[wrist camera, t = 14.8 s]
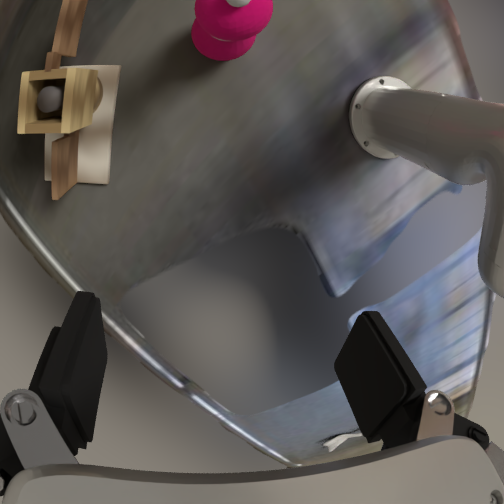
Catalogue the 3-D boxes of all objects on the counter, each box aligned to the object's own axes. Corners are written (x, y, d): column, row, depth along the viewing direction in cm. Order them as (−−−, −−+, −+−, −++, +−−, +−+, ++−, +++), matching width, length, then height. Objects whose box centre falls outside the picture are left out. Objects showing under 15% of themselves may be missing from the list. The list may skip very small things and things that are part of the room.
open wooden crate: (65, -1, 22) (40, -13, 16) (114, -5, 24) (96, -22, 18) (45, 124, 30) (17, 133, 24) (91, 124, 31) (69, 133, 25)
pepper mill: (201, 70, 34) (200, 52, 17) (185, 21, 30) (172, -35, 13) (256, 55, 34) (306, 29, 17) (242, 7, 30) (277, -55, 13)
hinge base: (53, 67, 29) (15, 66, 21) (121, 65, 32) (96, 59, 23) (47, 178, 37) (12, 205, 28) (109, 182, 39) (85, 210, 30)
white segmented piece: (320, 437, 86) (323, 446, 83) (410, 395, 83) (415, 403, 80) (326, 445, 91) (329, 453, 88) (411, 405, 88) (415, 412, 85)
